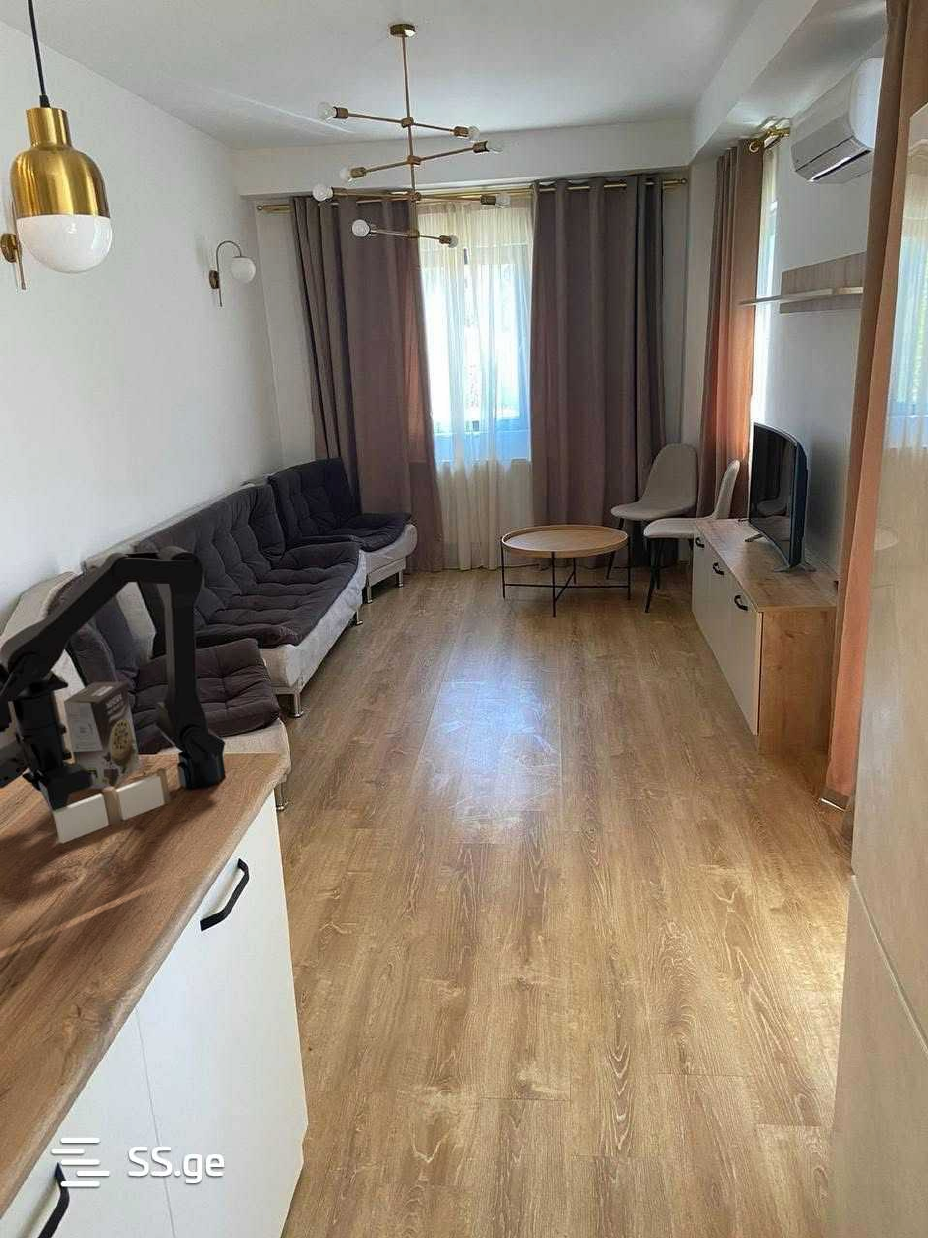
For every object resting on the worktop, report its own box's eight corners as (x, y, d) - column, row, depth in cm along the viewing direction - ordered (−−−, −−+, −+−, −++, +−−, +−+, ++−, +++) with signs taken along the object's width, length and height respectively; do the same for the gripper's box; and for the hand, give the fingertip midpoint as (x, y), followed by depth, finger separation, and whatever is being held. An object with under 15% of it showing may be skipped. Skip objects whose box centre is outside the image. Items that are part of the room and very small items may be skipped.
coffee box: (114, 793, 150) (97, 702, 145) (78, 791, 151) (60, 701, 146) (142, 767, 158) (127, 680, 153) (109, 766, 160) (92, 680, 155)
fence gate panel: (106, 823, 139) (100, 793, 137) (108, 825, 138) (103, 795, 137) (59, 841, 134) (53, 811, 133) (61, 843, 134) (55, 813, 132)
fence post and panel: (167, 800, 146) (162, 767, 144) (173, 803, 144) (167, 770, 143) (106, 823, 139) (100, 789, 138) (111, 828, 138) (105, 793, 136)
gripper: (-40, 722, 135) (-18, 816, 139) (0, 759, 121) (23, 862, 126) (38, 699, 142) (57, 789, 146) (84, 732, 128) (103, 830, 133)
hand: (58, 817), depth 138 cm, fingers closed
